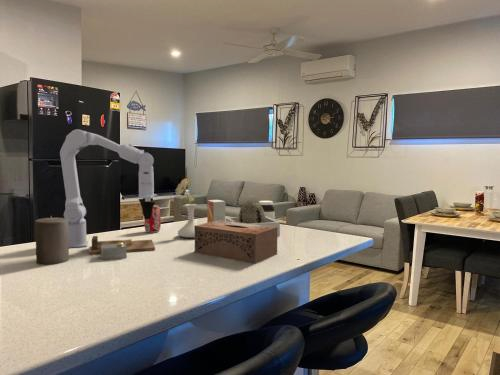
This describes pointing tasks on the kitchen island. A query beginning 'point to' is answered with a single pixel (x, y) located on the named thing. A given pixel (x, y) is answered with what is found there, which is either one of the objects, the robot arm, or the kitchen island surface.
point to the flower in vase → (189, 227)
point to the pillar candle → (51, 240)
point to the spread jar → (268, 209)
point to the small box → (215, 210)
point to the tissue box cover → (236, 241)
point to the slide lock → (113, 251)
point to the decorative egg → (251, 213)
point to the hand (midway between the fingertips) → (146, 217)
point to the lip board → (130, 245)
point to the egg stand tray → (267, 223)
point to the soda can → (153, 221)
